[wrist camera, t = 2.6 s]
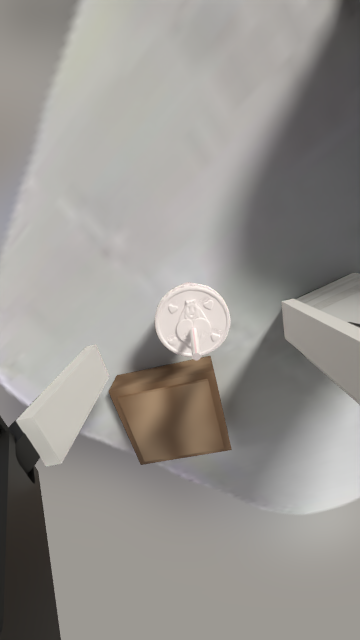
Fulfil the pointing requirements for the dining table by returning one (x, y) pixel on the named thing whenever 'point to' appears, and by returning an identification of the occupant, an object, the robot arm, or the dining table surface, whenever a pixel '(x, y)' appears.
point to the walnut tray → (172, 411)
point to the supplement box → (337, 303)
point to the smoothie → (192, 320)
